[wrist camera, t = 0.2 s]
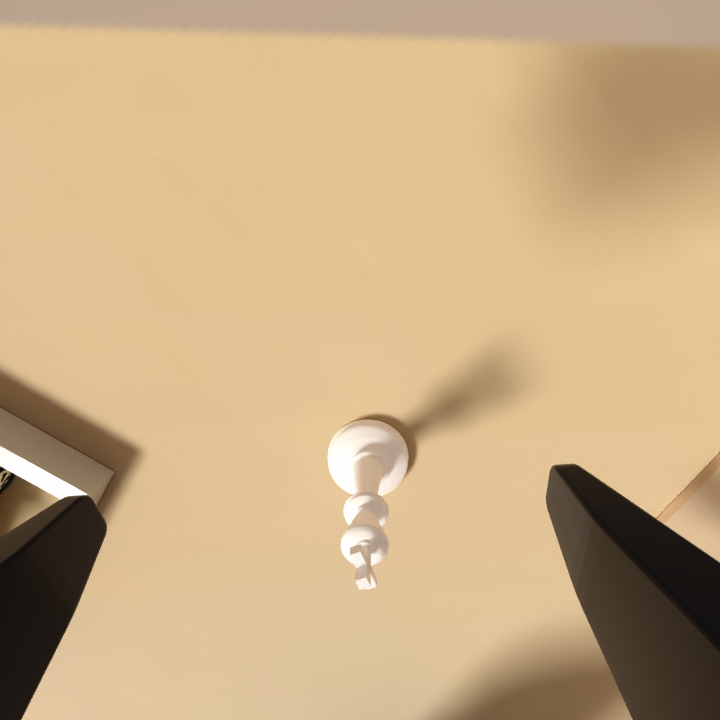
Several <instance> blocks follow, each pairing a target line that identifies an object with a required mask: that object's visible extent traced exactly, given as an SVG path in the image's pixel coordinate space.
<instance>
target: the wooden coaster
mask: <svg viewBox="0 0 720 720" xmlns="http://www.w3.org/2000/svg"><path fill="white" fill-rule="evenodd" d="M657 520H659V521H660V522H662V523H663V524H665V525H666V526H668V527H669V528H671V529H672V530H673V531H675V532H676V533H678V534H679V535H681V536H682V537H684V538H685V539H687V540H688V541H690V542H691V543H692V544H694V545H695V546H697V547H698V548H700V549H701V550H703V551H704V552H706V553H707V554H709V555H710V556H711V557H713V558H714V559H716V560H717V561H719V562H720V453H719V454H718V455H717V456H716V457H715V458H714V460H713V461H712V462H711V463H710V464H709V465H708V466H707V467H706V468H705V469H704V470H703V471H702V472H701V473H700V474H699V475H698V476H697V477H696V478H695V479H694V480H693V481H692V482H691V483H690V484H689V485H688V487H687V488H686V489H685V490H684V491H683V492H682V493H681V494H680V495H679V496H678V497H677V498H676V499H675V500H674V501H673V502H672V503H671V504H670V505H669V506H668V507H667V508H666V509H665V510H664V511H663V513H662V514H661V515H660V516H659V517H658V518H657Z"/></svg>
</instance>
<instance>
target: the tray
mask: <svg viewBox="0 0 720 720" xmlns="http://www.w3.org/2000/svg"><path fill="white" fill-rule="evenodd" d="M0 466H1V467H3V468H5V469H6V470H8V471H10V472H12V473H14V474H15V475H17V476H19V477H21V478H23V479H25V480H26V481H28V482H30V483H32V484H34V485H36V486H37V487H39V488H41V489H43V490H45V491H46V492H48V493H50V494H52V495H54V496H56V497H57V498H59V499H62V498H64V497H67V496H73V495H88V496H90V497H91V498H92V499H93V500H94V502H95V504H96V505H97V504H98V502H99V500H100V498H101V496H102V495H103V493H104V491H105V489H106V487H107V485H108V483H109V482H110V480H111V478H112V476H113V474H114V471H112V470H110V469H109V468H107V467H105V466H103V465H102V464H100V463H98V462H96V461H94V460H93V459H91V458H89V457H87V456H86V455H84V454H82V453H80V452H78V451H77V450H75V449H73V448H71V447H70V446H68V445H66V444H64V443H62V442H61V441H59V440H57V439H55V438H54V437H52V436H50V435H48V434H46V433H45V432H43V431H41V430H39V429H38V428H36V427H34V426H32V425H30V424H29V423H27V422H25V421H23V420H22V419H20V418H18V417H16V416H15V415H13V414H11V413H9V412H7V411H6V410H4V409H2V408H0Z"/></svg>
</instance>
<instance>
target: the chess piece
mask: <svg viewBox="0 0 720 720" xmlns="http://www.w3.org/2000/svg"><path fill="white" fill-rule="evenodd" d="M408 460H409V454H408V448H407V445H406V443H405V441H404V439H403V437H402V436H401V435H400V433H399V432H398V431H397V430H395V429H394V428H393V427H391V426H390V425H388V424H386V423H384V422H381V421H377V420H370V419H366V420H358V421H354V422H352V423H349V424H347V425H346V426H344V427H343V428H341V429H340V430H339V431H338V432H337V433H336V434H335V436H334V437H333V439H332V441H331V443H330V445H329V449H328V466H329V470H330V473H331V475H332V477H333V479H334V481H335V482H336V483H337V484H338V485H339V486H340V487H341V488H342V489H343V490H345V491H346V492H348V493H350V494H352V496H350V497H349V498H348V499H347V501H346V503H345V505H344V516H345V519H346V521H347V523H348V524H349V526H348V528H347V529H346V531H345V532H344V534H343V536H342V539H341V550H342V553H343V555H344V556H345V558H346V559H347V560H348V561H350V562H351V563H353V564H354V565H355V567H356V577H355V581H356V583H357V585H358V588H359V590H362V589H365V588H366V590H368V589H371V588H375V587H377V577H376V575H375V573H374V571H373V569H372V567H371V566H373V565H376V564H378V563H379V562H381V561H382V560H383V559H384V558H385V556H386V555H387V552H388V549H389V542H388V538H387V536H386V533H385V532H384V530H383V528H382V526H383V525H384V524H385V522H386V520H387V517H388V512H389V511H388V506H387V503H386V501H385V500H384V499H383V498H382V497H381V496H382V495H385V494H387V493H389V492H391V491H392V490H394V489H395V488H396V487H397V486H398V485H399V484H400V483H401V482H402V480H403V478H404V477H405V474H406V472H407V468H408Z"/></svg>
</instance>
